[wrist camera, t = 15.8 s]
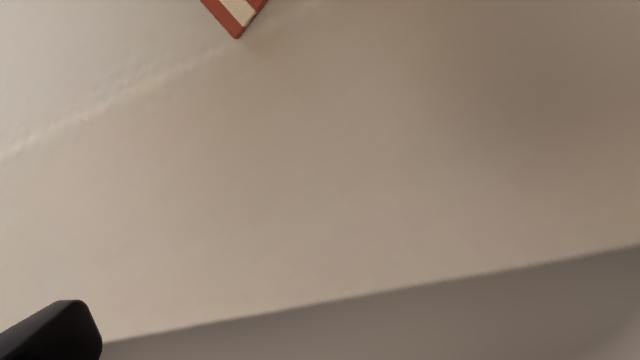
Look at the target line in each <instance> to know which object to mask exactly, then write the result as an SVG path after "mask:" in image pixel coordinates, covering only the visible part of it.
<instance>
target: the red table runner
mask: <svg viewBox="0 0 640 360" xmlns="http://www.w3.org/2000/svg"><path fill="white" fill-rule="evenodd" d="M200 1H201V2H202V3H203V4H204V5H205V7H206V8H207V9H208V10H209V11H210V12H211V13H212V14H213V16H214V17H215V18H216V19H217V20H218V21H219V22H220V24H221V25H222V26H223V27H224V28H225V29H226V30H227V31H228V33H229V34H230V35H231V36H232V37H233V38H234V39H238V38H239V37H240V36H241V34H242V33H243V32H244V31H245V29H246V28H247V27H248V25H249V24H250V23H251V21H252V20H253V19H254V17H255V16H256V15H257V14H258V12H259V11H260V10H261V8H262V7H263V6H264V4H265V3H266V2H267V0H200Z"/></svg>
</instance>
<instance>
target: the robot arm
mask: <svg viewBox="0 0 640 360" xmlns="http://www.w3.org/2000/svg"><path fill="white" fill-rule="evenodd" d="M101 352H102V338H101V335H100V333H99V330H98V328H97V326H96V324H95V322H94V319H93V317H92V315H91V313H90V311H89V308H88V306H87V305H86V304H85V303H84V302H83V301H81V300H60V301H56V302H54V303H52V304H50V305H49V306H47V307H45V308H43V309H42V310H40V311H38V312H37V313H35V314H33V315H31V316H30V317H28V318H26V319H24V320H23V321H21V322H19V323H17V324H16V325H14V326H12V327H10V328H9V329H7V330H5V331H3V332H2V333H0V360H99V358H100V355H101Z"/></svg>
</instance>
